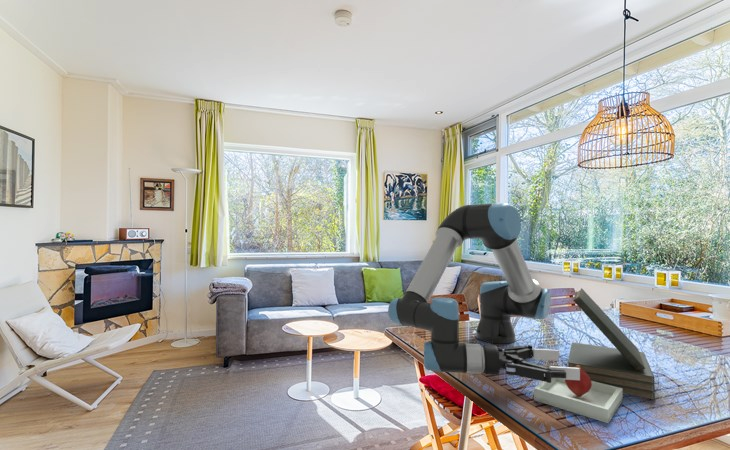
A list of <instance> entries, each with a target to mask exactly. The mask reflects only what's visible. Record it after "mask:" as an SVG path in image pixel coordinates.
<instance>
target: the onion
mask: <svg viewBox="0 0 730 450" xmlns="http://www.w3.org/2000/svg"><path fill="white" fill-rule="evenodd" d="M574 368H579V369H580V380H566V379H565V382H566V385H567V387H568V388H569V389H570V390H571V391H572V392H573V393H574V394H575V395H576V396H578V397H581V396H582V395H584V394H585V393H587V392H588V391H589V390H590V389H591V386H592V383H591V379H590V377H589V376H588V374H587V373H586V372H585V371H584V370H582V369H581V368H580V365H577V366H576V367H574Z"/></svg>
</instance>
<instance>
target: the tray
mask: <svg viewBox="0 0 730 450" xmlns="http://www.w3.org/2000/svg"><path fill="white" fill-rule="evenodd" d="M591 383H592V386H591V389H590V390H589V391H588V392H587V393H585V394H584V395H582V396H581V397H578V396H576V395H575V394H574V393H573V392H572V391H571V390H570V389H569V388H568V387H567V385H566V382H565V379H551V383H548V382H544V381H541V382H540V383H538V384H537V385H536V386H535V387H534V388H533V400H534V401H535V402H538V403H542V404H546V405H549V406H552V407H555V408H557V409H562V410H564V411H567V412H571V413H573V414H577V415H580V416H582V417H583V416H584V417H586V418H589V419H593V420H597V421H600V422H603V423H606V424H609V423H610V421H611V420H612V418H613V417H614V415H615V414H616V412H617V410H618V409H619V407H620V406H621V404H622V403H623V400H624V393H623V388H619V387H615V386H611V385H607V384H603V383H599V382H595V381H591Z"/></svg>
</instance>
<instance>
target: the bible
mask: <svg viewBox="0 0 730 450" xmlns="http://www.w3.org/2000/svg"><path fill="white" fill-rule="evenodd" d="M572 300H573V302H574V303H575V305H577V307H578V308H579V309H580V310H581V311H582V312H583V313H584V314H585V315H586V317H588V319H589V320H590V321H591V322H592V323H593V324H594V325H595V326H596V328H597V329H598V330H599V331H600V332H601V333H602V334H603V335H604V336H605V337H606V339H608V341H609V342H610V343H611V344H612V345H613V346H614V347H609V346H601V345H595V344H587V343H581V342H575V341H574V342H573V341H572V342H571V346H570V350H569V354H568V359H567V364H568V365H567V367H576V366H577V365H580V368H581V369H582V370H584V371H585V372H586V373H587V374H588V376H589V377H590V379H591V381H595V382H599V383H603V384H607V385H611V386H615V387H619V388H623V395H624V394H625V395H629V396H634V397H639V398H646V399H650V400H654V401H655V400H656V396H655V395H656V393H655V392H656V391H655V386H656V385H655V376H654V374H653V371H652V369H651V365H650V363H649V361H648V359H647V357H646V354H645V352H644V351H639V348H638V347H637V346H636V345H635V344H634V343H633V342H632V340H631V339H630V338H629V337H628V336H627V335H626V334H625V333H624V332H623V331H622V330H621V329H620V328H619V327H618V325H617V324H616V323H614V321H613V320H612V319H611V318H610V317H609V316H608V314H606V313H605V311H603V309H602V308H601V307H600V306H599V305H598V304H597V303H596V302H595V301H594V300H593V299H592V298H591V297H590V295H589V294H588V293H587V292H586V290H584V289H583V288H582V287H581V288H580V290H578V291H577V290H576V291H575V294H574V297H573V299H572Z"/></svg>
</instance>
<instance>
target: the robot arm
mask: <svg viewBox="0 0 730 450" xmlns="http://www.w3.org/2000/svg"><path fill="white" fill-rule="evenodd" d="M521 230H522V223H521V217H520V213H519V211H518V210H517V208H516V207H515V205H513V204H511V203H509V202H508V203H507V202H492V203H480V204H465V205H462V206H460V207H458V208H456V209H455V210H453V211H452V212H451V213H449V214H448V215H447V216H446V217H445V218H444V219H443V221H441V223H440V224H439V226H438V228H437V229H436V231H435V236H436V237H435V238H434V241H433V242H432V244H431V246H430V248H429V249H428V251H427V253H426V255H425V256H424V258H423V259H422V262H421V264H420V265H419V267H418V269H417V271H416V273H415V275H414V276H413V278H412V280H411V281H410V284H409V285H408V287H407V288H406V291H405V293H404V294H403V296H402V297H397V298H396V297H395V298H394V299H392V300H391V301H390V302H389V305H388V308H387V313H388V314H387V315H388V317H389V319H390V320H391V322H393V323H395V324H398V325H401V326H406V327H411V328H415V329H420V330H424V331H428V332H430V340H429V341H424V342H423V366H424V369H426V370H427V371H432V372H439V373H458V374H459V373H460V374H469V375H470V376H473V375H474V374H477V375H481V374H482V373H483V374H484V375H489V376H498V375H499V374H500V370H501V369H503V370H505V371H506V372H505V374H506V375H508V376H509V375H510V376H518V377H521V378H525V379H526V378H527V379H531V380H536V381H541V382H543V381H544V382H548V383H551V379H566V380H580V369H579V368H574V367H568V366H554V365H548V367H546V366H544V365H540V364H538V363H537V364H536V363H533V362H530V361H525V360H528V359H533V360H538V361H539V360H540V361H543V360H544V361H560V350H559V349H551V348H550V349H546V348H533V345H531V344H527V345H521V346H520V345H519V346H511V347H498V346H497V345H495V344H511V343H515V342H516V332H515V329H514V325H513V324H512V321H511V320H512V319H511V316H514V317H521V318H526V319H532V320H540V321H542V320H545V319H546V318H547V317H548V315H549V312H550V310H551V309H550V308H551V303H552V302H551V301H552V299H551V298H552V297H551V296H552V294H551V291H550V289H548V288H546V287H544V288H542V287H541V285H540V283H539V282H538V281H537V280H536V279H534V278H533V277H532V274H531V272H530V270H529V268H528V265H527V263H526V260H525V258H524V256H523V253H522V250H521V248H520V247H519V244H518V242H517V239H518V237H519V236H520V233H521ZM470 239H471V240H473V239H475V240H478V239H479V240H481V241H482V243H483V245H484V247H485V248H486V249H487V250H491V252H492V254H493V256H494V258H495V260H496V263H497V265H498V266H499V269H500V270H501V273H502V274H503V277H504V279H505V280H501V281H500V280H495V281H487V282H486V281H485V282H483V283H481V285H480V287H479V302H480V303H479V304H480V305H479V307H480V308H479V309H480V311H479V312H480V314H479V316H480V319H479V321H478V325H477V327H476V331H475V337H476V338H477V339H478V340H480V341H483V342H487V343H492V344H482V345H481V344H480V343H460V316H461V315H460V311H459V309H460V308H459V302H458V300H456V298H455V299H454V298H451V297H441V296H440V297H434V298H432V299H431V297H432V296H433V294H434V292H435V291H436V289H437V286H438V284H439V282H440V281H441V279H442V276H443V274H444V273H445V271H446V269H447V267H448V265H449V263H450V261H451V260H452V257H453V255H454V253H455V252H456V249H457V248H459V247H462V245H463V244H464V243H463V242H465V240H470ZM429 302H430V303H429Z"/></svg>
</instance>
